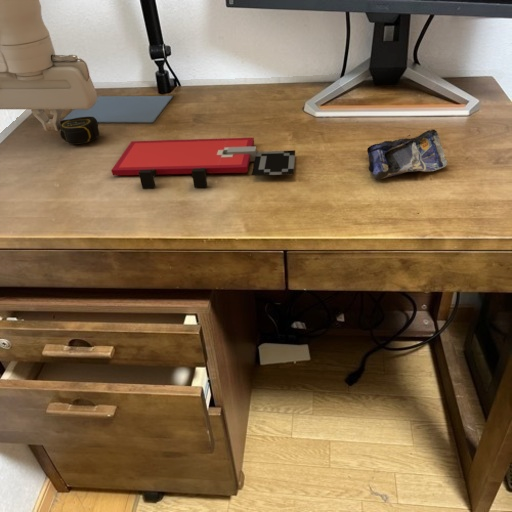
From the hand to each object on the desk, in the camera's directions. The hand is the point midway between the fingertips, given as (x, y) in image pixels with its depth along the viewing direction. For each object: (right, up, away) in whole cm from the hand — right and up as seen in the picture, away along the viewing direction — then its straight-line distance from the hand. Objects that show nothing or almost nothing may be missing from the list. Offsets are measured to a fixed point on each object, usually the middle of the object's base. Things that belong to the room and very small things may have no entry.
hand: (53, 129), depth 95 cm
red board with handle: (+31, -9, -12) cm, 34 cm away
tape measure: (+5, -2, 0) cm, 6 cm away
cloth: (+10, +7, +11) cm, 16 cm away
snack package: (+62, -11, -17) cm, 65 cm away
